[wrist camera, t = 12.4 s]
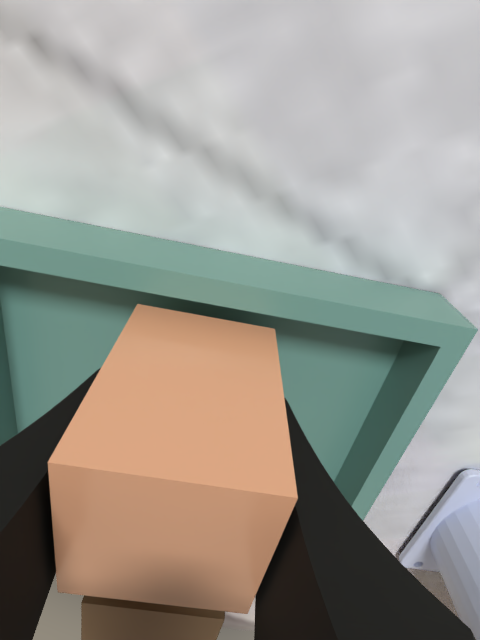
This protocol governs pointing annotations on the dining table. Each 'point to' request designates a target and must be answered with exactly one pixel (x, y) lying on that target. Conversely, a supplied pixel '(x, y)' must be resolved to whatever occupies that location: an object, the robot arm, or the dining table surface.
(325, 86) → the dining table surface
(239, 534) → the terracotta block
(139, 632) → the walnut block
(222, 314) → the tray
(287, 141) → the dining table surface
